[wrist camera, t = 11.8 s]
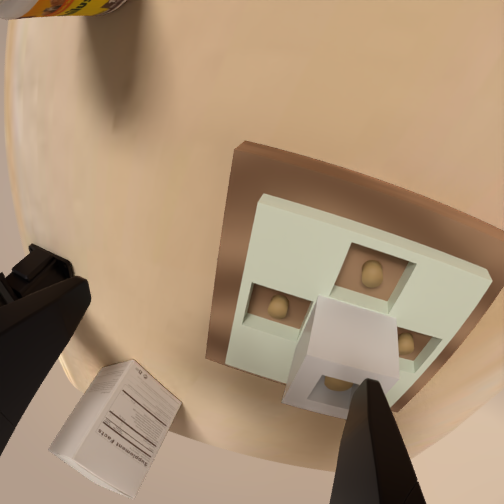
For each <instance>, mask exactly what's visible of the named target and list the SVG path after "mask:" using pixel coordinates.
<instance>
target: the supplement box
mask: <svg viewBox="0 0 504 504" xmlns="http://www.w3.org/2000/svg"><path fill="white" fill-rule="evenodd" d="M181 404H182V402H181V401H180V400H178V399H177V398H176V397H175V396H174V395H172V394H171V393H170V392H169V391H168V390H167V389H166V388H164V387H163V386H162V385H161V384H160V383H159V382H158V381H157V380H156V379H154V378H153V377H152V376H151V375H150V374H149V373H148V372H147V371H146V370H145V369H143V368H142V367H141V366H140V365H139V364H138V363H137V362H136V361H135V360H130V361H126V362H122V363H118V364H114V365H110V366H106V367H102V368H101V370H100V371H99V373H98V374H97V376H96V377H95V378H94V380H93V381H92V383H91V384H90V386H89V387H88V389H87V390H86V392H85V393H84V395H83V396H82V398H81V399H80V401H79V402H78V404H77V405H76V407H75V408H74V410H73V411H72V413H71V414H70V416H69V417H68V419H67V420H66V422H65V424H64V425H63V427H62V428H61V430H60V431H59V433H58V434H57V436H56V438H55V439H54V441H53V442H52V444H51V446H50V447H49V449H48V450H49V451H50V452H51V453H53V454H54V455H55V456H57V457H58V458H59V459H61V460H62V461H64V462H65V463H67V464H68V465H69V466H71V467H72V468H74V469H75V470H76V471H78V472H79V473H81V474H82V475H83V476H85V477H86V478H88V479H89V480H91V481H92V482H94V483H96V484H98V485H99V486H102V487H104V488H106V489H109V490H111V491H114V492H116V493H119V494H121V495H123V496H126V497H129V498H131V499H135V497H136V495H137V493H138V491H139V489H140V487H141V485H142V483H143V481H144V479H145V477H146V474H147V473H148V470H149V468H150V467H151V464H152V462H153V460H154V458H155V456H156V454H157V452H158V450H159V448H160V446H161V444H162V442H163V440H164V438H165V436H166V434H167V432H168V430H169V428H170V426H171V424H172V422H173V420H174V418H175V416H176V414H177V412H178V410H179V408H180V406H181Z"/></svg>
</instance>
